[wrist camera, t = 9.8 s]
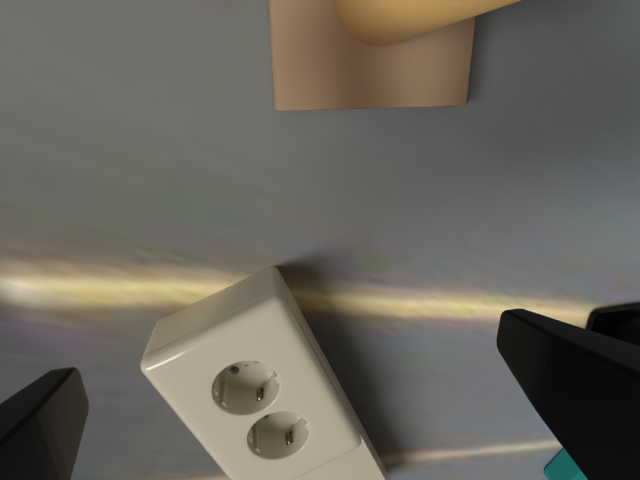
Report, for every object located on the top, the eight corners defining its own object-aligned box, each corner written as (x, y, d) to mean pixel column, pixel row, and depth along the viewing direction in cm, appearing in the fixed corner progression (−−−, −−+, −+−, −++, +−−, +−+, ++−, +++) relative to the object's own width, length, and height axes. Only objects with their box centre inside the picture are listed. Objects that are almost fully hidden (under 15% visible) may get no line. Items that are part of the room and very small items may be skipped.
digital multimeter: (620, 515, 37) (651, 548, 34) (534, 465, 31) (562, 500, 29) (679, 463, 36) (715, 493, 33) (600, 402, 30) (635, 432, 28)
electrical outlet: (301, 572, 24) (134, 369, 17) (293, 507, 28) (153, 319, 21) (405, 520, 24) (282, 298, 17) (383, 463, 28) (275, 261, 21)
